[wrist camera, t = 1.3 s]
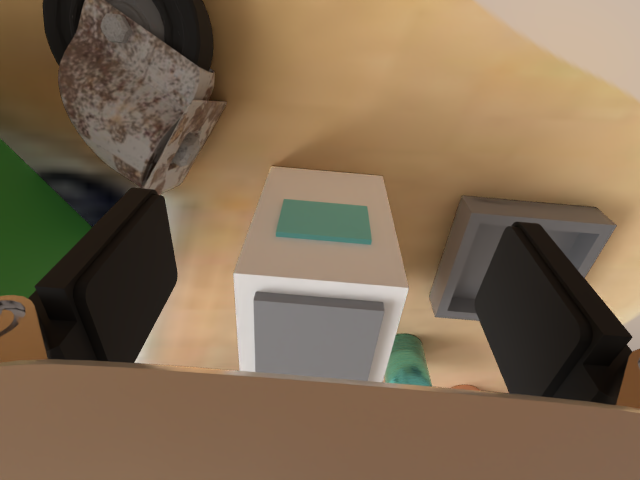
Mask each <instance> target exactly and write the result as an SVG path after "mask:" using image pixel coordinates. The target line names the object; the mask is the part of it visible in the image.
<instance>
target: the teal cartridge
mask: <svg viewBox="0 0 640 480" xmlns="http://www.w3.org/2000/svg"><path fill="white" fill-rule="evenodd" d="M384 376H385V383H396V384H408V385H420V386H431V387H432V384H431V380H430V375H429V371H428V367H427V363H426V358H425V354H424V350H423V346H422V342H421V341H420V340H419V339H418V338H417V337H415V336H413V335H410V334H397V335H396V336H395V339H394V343H393V347H392V350H391V354H390V357H389V361H388V364H387V368H386V371H385V375H384Z"/></svg>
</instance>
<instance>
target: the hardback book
mask: <svg viewBox="0 0 640 480" xmlns="http://www.w3.org/2000/svg"><path fill="white" fill-rule="evenodd" d="M91 228H92V227H91V226H90V225H89V224H88V223H87V222H86V221H85V220H84V219H83V218H82V217H81V216H80V215H79V214H78V213H77V212H76V211H75V210H74V209H73V208H72V207H71V206H70V205H69V204H68V203H67V202H66V201H65V200H63V199H62V198H61V197H60V196H59V195H58V194H57V193H56V192H55V191H54V190H53V189H52V188H51V187H50V186H49V185H48V184H47V183H46V182H45V181H44V180H43V179H42V178H41V177H40V176H39V175H38V174H37V173H36V172H35V171H34V170H32V169H31V168H30V167H29V166H28V165H27V164H26V163H25V162H24V161H23V160H22V159H21V158H20V157H19V156H18V155H17V154H16V153H15V152H14V151H13V150H12V149H11V148H10V147H9V146H8V145H7V144H6V143H5V142H4V141H2V140H1V139H0V296H6V295H17V296H23V297H26V298H27V299H28V298H29V297H30V296H31V295H32V294H33V293H34V292H35V291H36V289H35V287H34V286H35V285H36V284H37V283H38V282H39V281H40V280H41V279H42V278H43V277H44V276H45V275H46V274H47V273H48V272H49V271H50V270H51V269H52V268H53V267H54V266H55V265H56V264H57V263H58V262H59V261H60V260H61V259H62V258H63V257H64V256H65V255H66V254H67V253H68V252H69V251H70V250H71V249H72V248H73V247H74V246H75V245H76V243H77V242H78V241H79V240H80V239H81V238H82V237H83V236H84V235H85V234H86V233H87V232H88V231H89V230H90V229H91Z"/></svg>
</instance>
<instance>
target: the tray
mask: <svg viewBox="0 0 640 480" xmlns="http://www.w3.org/2000/svg"><path fill="white" fill-rule="evenodd" d="M514 222H528V223H538V224H540V225H541V226H542V227H543V229H544V230H545V231H546V232H547V233H548V235H549V236H550V237H551V238H552V239H553V241H554V242H555V243H556V244H557V246H558V247H559V248H560V249H561V250H562V252H563V253H564V254H565V255H566V257H567V258H568V259H569V260H570V261H571V263H572V264H573V265H574V266H575V268H576V269H577V270H578V271H579V272H580V274H581V275H582V276H583V277H584V278H585V276H586V275H587V273H588V272H589V270H590V268H591V267H592V265H593V264H594V262H595V260H596V259H597V257H598V255H599V254H600V252H601V251H602V249H603V247H604V246H605V244H606V242H607V241H608V239H609V238H610V236H611V234H612V233H613V231H614V229H615V228H616V226H617V225H616V224H615V223H614V222H612V221H611V220H610V219H609V218H608V217H607V216H606V215H604V214H603V213H602V212H601V211H600V210H599V209H598V208H596V207H586V206H574V205H563V204H552V203H540V202H529V201H517V200H506V199H495V198H483V197H472V196H461V199H460V202H459V206H458V209H457V212H456V215H455V218H454V221H453V224H452V227H451V230H450V233H449V236H448V239H447V242H446V245H445V249H444V252H443V255H442V258H441V261H440V264H439V267H438V270H437V273H436V276H435V279H434V282H433V285H432V288H431V292H430V295H429V298H430V302H431V305H432V309H433V312H434V315H435V317H440V318H452V319H464V320H476V321H479V318H478V316H477V313H476V311H475V306H474V304H475V298H476V295H477V293H478V290H479V288H480V286H481V283H482V281H483V279H484V276H485V274H486V272H487V269H488V267H489V265H490V262H491V260H492V257H493V255H494V253H495V250H496V248H497V246H498V243H499V241H500V239H501V236H502V234H503V232H504V230H505V228H506V227H508V226H511V225H512V224H513V223H514Z"/></svg>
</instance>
